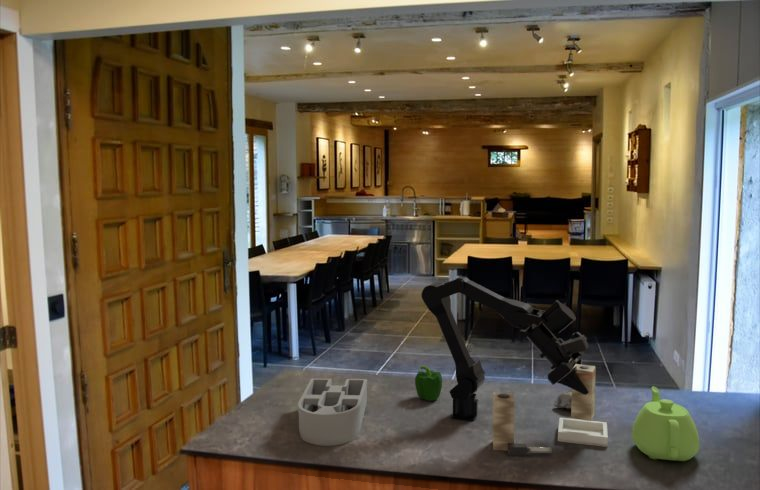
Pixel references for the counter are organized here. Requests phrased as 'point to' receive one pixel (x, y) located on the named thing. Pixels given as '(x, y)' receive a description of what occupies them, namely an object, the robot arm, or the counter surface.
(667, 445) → the teapot
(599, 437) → the tray
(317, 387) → the grey compartment organizer
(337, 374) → the counter surface
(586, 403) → the block
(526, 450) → the pin gauge
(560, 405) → the mineral specimen
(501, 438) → the block
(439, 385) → the bell pepper
